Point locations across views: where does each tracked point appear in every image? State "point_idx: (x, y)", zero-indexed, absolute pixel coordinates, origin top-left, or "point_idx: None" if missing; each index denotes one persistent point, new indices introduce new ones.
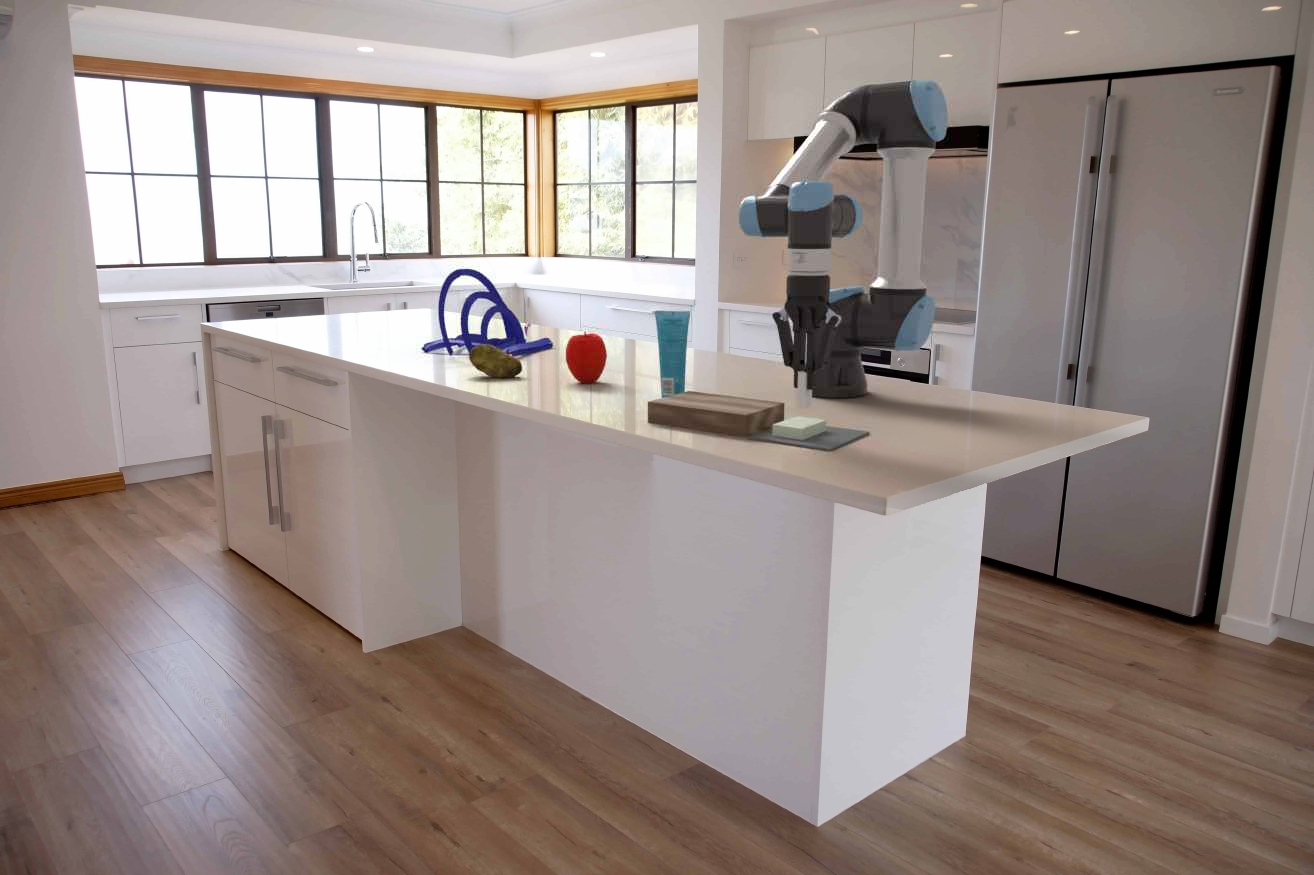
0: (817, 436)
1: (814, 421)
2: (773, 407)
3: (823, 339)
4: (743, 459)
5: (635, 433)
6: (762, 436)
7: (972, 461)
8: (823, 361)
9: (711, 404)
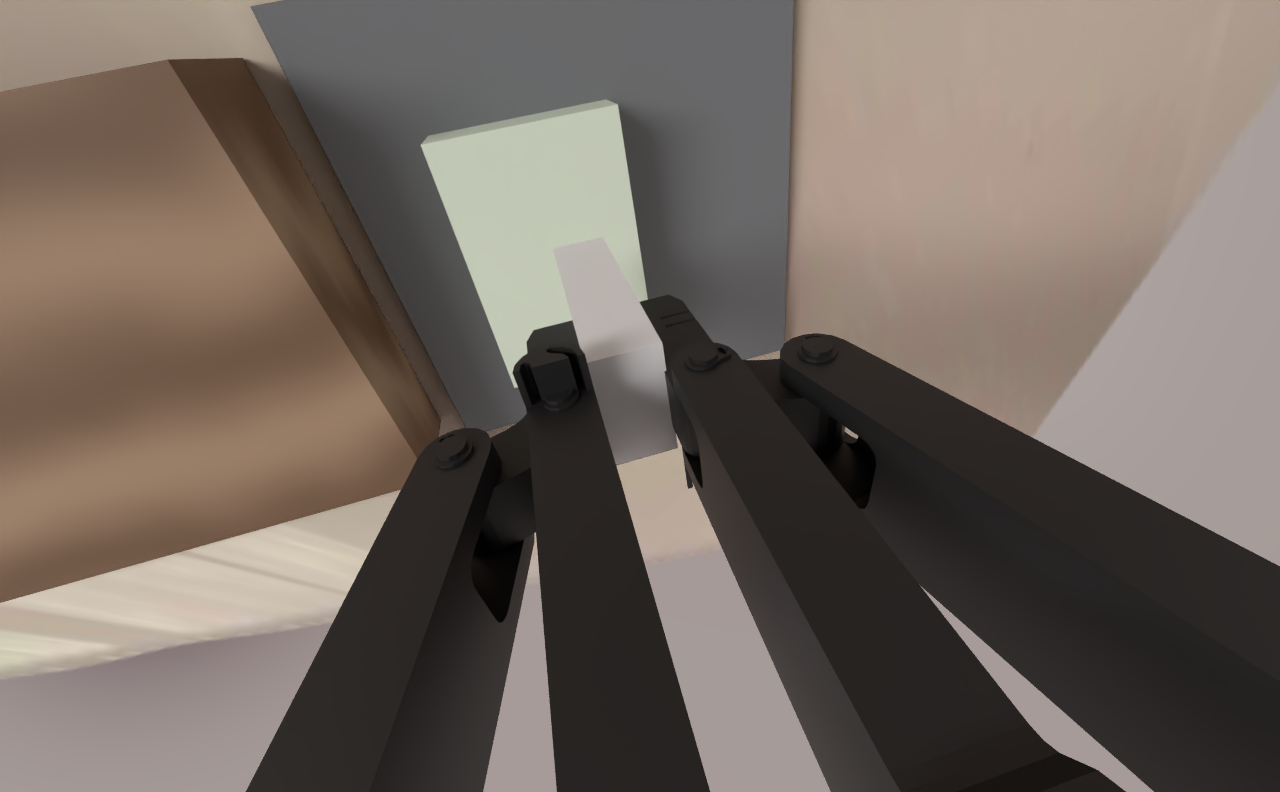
0: (651, 238)
1: (596, 192)
2: (284, 240)
3: (1065, 687)
4: (648, 546)
5: (177, 632)
6: (502, 398)
7: (1220, 94)
8: (875, 460)
9: (42, 474)
